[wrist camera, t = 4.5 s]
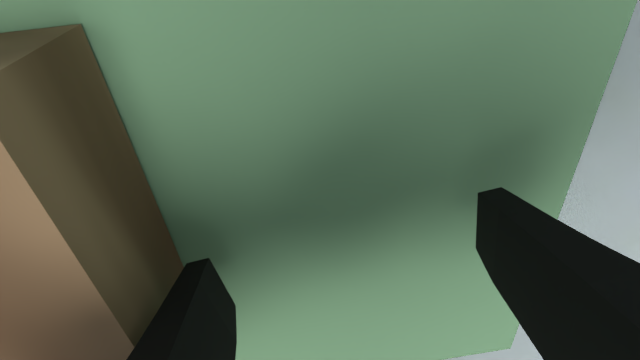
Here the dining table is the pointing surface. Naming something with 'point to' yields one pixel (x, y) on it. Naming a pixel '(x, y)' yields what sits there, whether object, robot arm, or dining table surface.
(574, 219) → the dining table surface
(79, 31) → the block
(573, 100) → the putting deck
